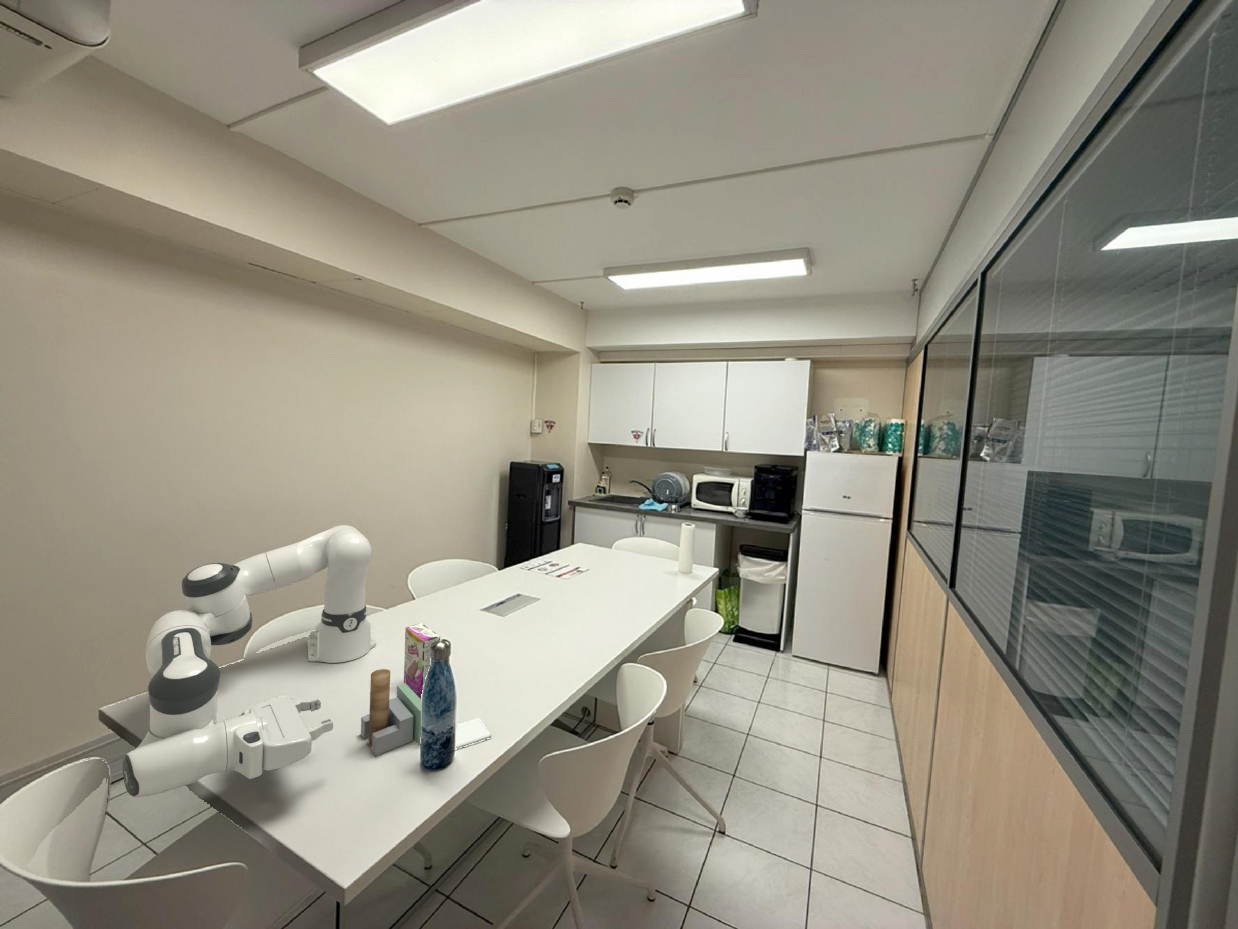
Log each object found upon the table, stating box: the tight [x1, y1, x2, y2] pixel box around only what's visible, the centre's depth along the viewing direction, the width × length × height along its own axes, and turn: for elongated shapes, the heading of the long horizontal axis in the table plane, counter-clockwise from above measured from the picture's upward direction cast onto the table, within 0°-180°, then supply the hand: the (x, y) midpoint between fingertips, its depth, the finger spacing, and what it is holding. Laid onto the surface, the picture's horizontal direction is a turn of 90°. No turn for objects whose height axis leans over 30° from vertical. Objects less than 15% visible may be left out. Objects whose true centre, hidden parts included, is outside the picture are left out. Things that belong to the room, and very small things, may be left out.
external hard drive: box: [456, 717, 492, 750], centre depth 115 cm, size 2×8×12 cm
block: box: [360, 696, 414, 757], centre depth 112 cm, size 10×8×6 cm
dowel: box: [368, 668, 391, 747], centre depth 111 cm, size 4×4×16 cm
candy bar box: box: [403, 622, 441, 699], centre depth 134 cm, size 11×5×16 cm, turn 48°
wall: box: [396, 682, 423, 746], centre depth 116 cm, size 14×2×8 cm, turn 45°
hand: (325, 713), depth 103 cm, fingers open, 8 cm apart
